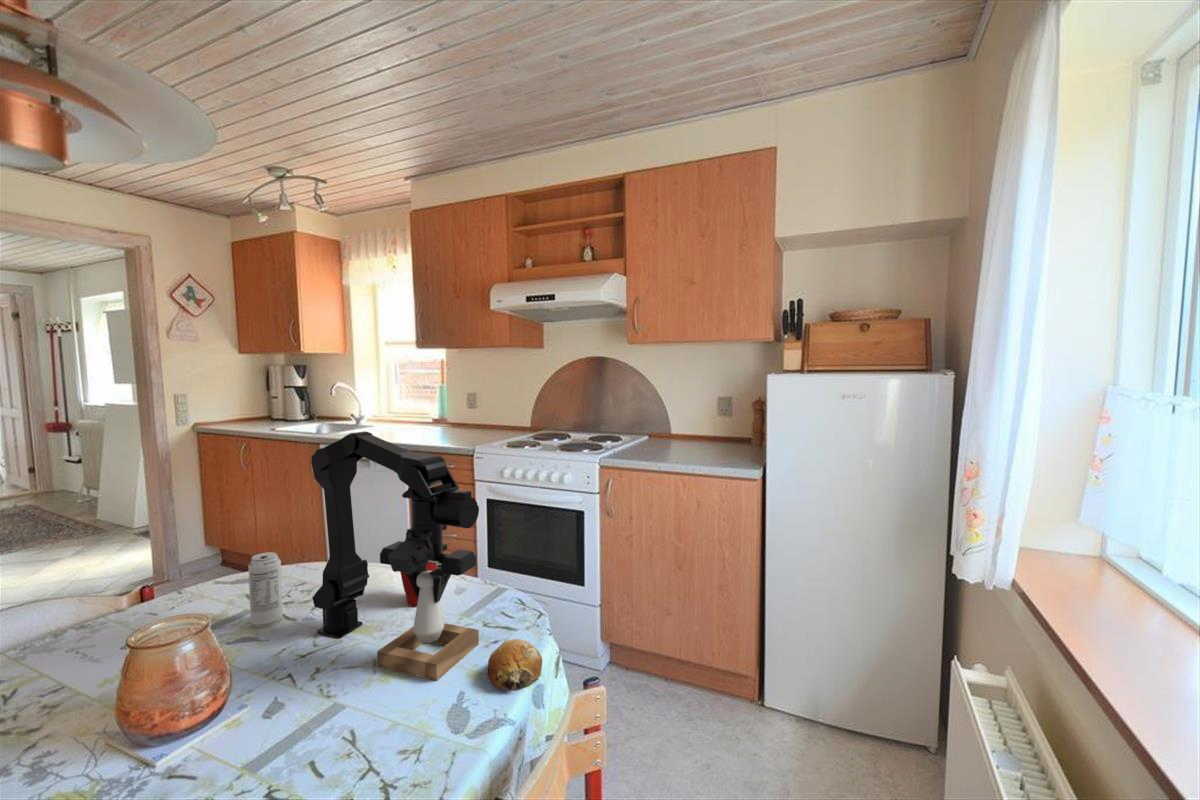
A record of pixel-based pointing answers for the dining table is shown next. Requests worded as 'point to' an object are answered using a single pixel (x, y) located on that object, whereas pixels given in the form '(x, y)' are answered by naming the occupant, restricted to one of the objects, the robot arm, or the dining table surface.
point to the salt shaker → (427, 611)
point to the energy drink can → (265, 589)
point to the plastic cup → (408, 588)
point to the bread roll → (514, 665)
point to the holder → (423, 664)
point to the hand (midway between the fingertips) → (428, 600)
